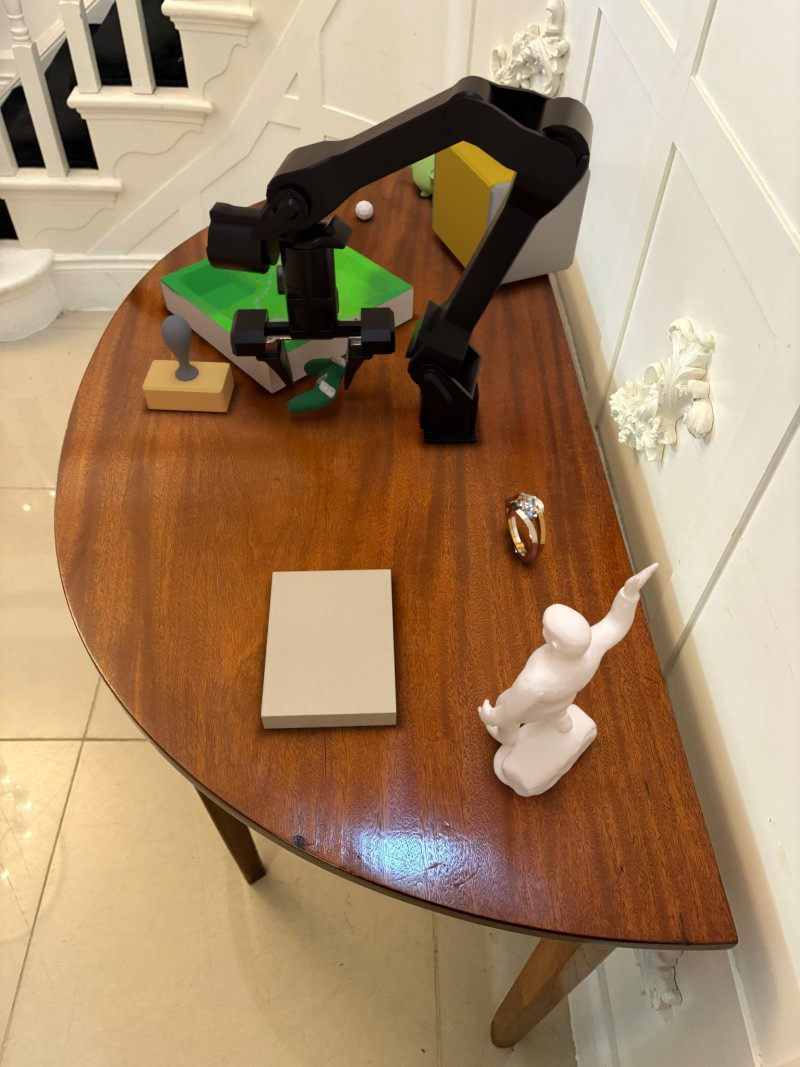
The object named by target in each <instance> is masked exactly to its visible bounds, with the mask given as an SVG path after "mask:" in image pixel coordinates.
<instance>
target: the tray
mask: <svg viewBox="0 0 800 1067" xmlns="http://www.w3.org/2000/svg"><path fill="white" fill-rule="evenodd" d="M334 259H335V275H336V286H337V289H338V296H339V313H338V320H339V319H350V318H351V317H353V316H361V308H375V307H389V308H390V309H391V310H392V311H393V312H394V320H395V328H396V327H398V326H400V325H402V324H403V323H406V322H407V321H409V320H411V319H412V318H413V308H414V286H412V284H409V283H408V282H406V281H405V280H403V279H402V278H400V277H398V276H396V275H395V274H393V273H392V272H390V271H389V270H387V269H385V268H383V267H382V266H380V265H378V264H377V263H375V262H373V260H371V259H369V258H368V257H366V256H364V255H363V254H361V253H359V252H358V251H356V250H354V249H353V248H352V247H349V246H348V245H346V247H345V248H344V249H342V250H341V249H334ZM277 265H282V264H281V256H279V260H278V262H277V264H276V265H275V266H270V268H269V270H268V272H267V273H266V274H256V273H248V272H240V271H233V270H225V269H217V268H213V267H212V266H211V265H210V263H209V261H208V257H206V258H203V259H201V260H198V261H196V262H195V263H192V264H190V265H188V266H187V265H186V266H185V267H183V268H180V269H177V270H176V271H173V272H170V273H168V274H166V275H164V276H161V277H160V278H159V281H160V286H161V290H162V293H163V297H164V301H165V306H166V309H167V310H168V311H169V312H170V313H171V314H172V315H178V316H181V317H183V318H184V319H185V320H186V321H187V322H188V323H189V325H190V327H191V330H193V331H194V332H195V333H196V334H197V335H199V337H201V338H202V339H204V340H205V341H206V342H207V343H209V344H210V345H211V346H212V347H214V348H215V349H216V350H217V351H219V352H220V353H221V354H222V355H224V356H225V357H226V358H227V359H228V360H230V361H231V362H232V363H234V365H236V366H237V367H238V368H240V369H241V370H242V371H243V372H244V373H246V374H247V375H248V376H250V377H251V378H252V379H253V380H255V381H256V382H257V383H258V384H259V385H260V386H262V387H263V388H264V389H266V390H267V391H268V392H269V393H270V394H274V393H276V392H278V391H279V390H281V389H283V388H285V387H287V386H286V385H285V384H284V382H283V381H282V380H281V379H280V377H279V376H278V375H277V374H276V373H275V372H274V371H273V370H272V369H271V368H270V367H269V366H268V365H267V364H266V363H265V362H263V361H257V360H256V358H255V356H249V357H237V356H235V355H234V354H233V353H232V348H231V342H230V333H231V327H232V321H233V315H234V313H235V312H236V311H237V310H238V309H267V310H268V313H269V322H281V321H288V315H287V307H286V298H285V295H279V294H278V291H277V273H276V267H277ZM347 340H348V338H333V339H332V340H288V341H285V346H286V350H287V354H288V358H289V362H290V367H291V371H292V375H293V383H295V382H296V381H298V380H300V379H302V378H304V377H305V376H308V374H306V372H305V371H304V365H305V364H306V363H307V362H308V361H310V360H312V359H318V358H331V357H332V356H333V354H334V353H335V354H337V355H339V356H340V357H341V358H342V356H344V355H346V351H347Z"/></svg>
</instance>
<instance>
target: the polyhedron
mask: <svg viewBox="0 0 800 1067" xmlns="http://www.w3.org/2000/svg"><path fill="white" fill-rule="evenodd" d="M354 211H355V215H356V216H357V217H358V218H359V219H361V220H363V221H366V220H369V219H371V217H372V216H373V213H374V208H373V204H371V203H370V202H369V201H367V200H361V201H359V202H357V204H356V206H355V209H354Z"/></svg>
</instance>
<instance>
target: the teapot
mask: <svg viewBox="0 0 800 1067" xmlns="http://www.w3.org/2000/svg"><path fill="white" fill-rule="evenodd" d="M434 159H435V154H434V155H431V156H429V157H427V158H425V159H423V160H421V161H418V162H416V163H414V164H412V165H410V166H408V168H409V169H410V170H411V172H412V180H413V182H414V183H415V185H416V186H417V187H418V188H419V189H420V190H421V192H420V196H421V197H425V198H426V197H430V196H431V195H433V181H434Z"/></svg>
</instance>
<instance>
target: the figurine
mask: <svg viewBox="0 0 800 1067" xmlns="http://www.w3.org/2000/svg"><path fill="white" fill-rule="evenodd" d="M658 568H659V562H654V563H652V564H651V565H649V566H647V567H645V568H644V569H642V570H641V571H639V572H638V573H636V574H634V575H633V576H631V577H629V578H628V579H627V580H626V581H625V583H624V586H622V587H621V588H620V589H619V590H618V592H617V594H616V595H615V598H614V600H613V602H612V604H611V606H610V610H609V612H608V613H607V614H606V615H605V616H604V617H603V619H601V620H600V621H598V622H597V623H595V624H593V625H592V626H590V625H589V622H588V620H586V618H585V617H584V616H583V615H582V614H581V613H580V612H578V611H576V610H575V609H573V608H571V607H570V606H567V605H566V604H565V605H564V604H562V603H554V604H551V605H550V606H548V607H547V608H546V609H545V611H544V612H543V616H542V620H541V622H542V625H543V626H542V636H543V639H544V640H545V642H546V643H545V644H543V645H541V646H540V647H538V648H536V649H535V650H534V651H533V652H532V653H531V654H530V656H529V657H528V659H527V661H526V663H525V665H524V669H522V670H521V672H520V673H519V674H518V676H517V678H516V679H515V680H514V682H513V683H512V685H511V686H510V687H509V688H507V689H505V690H504V691H503V692H502V693H500V695H498V697H497V699H496V701H495V705H494V707H492V705H491V703H490V699H488V698H487V699H485V700H484V701H483V704H482V706H478V708H477V712H478V716H479V717H480V720H481V722H483V724H484V725H485V728H486V730H487V732H488V734H490V736H491V737H492V738H493V739H495V740H496V741H497V742H499V743H500V744H501V745H500V747H499V748H498V749H497V750H496V753H495V754H494V757H493V770H494V774H495V775H496V777H497V778H498V779H499V781H500V782H502V784H504V785H506V786H508V787H510V788H511V789H512V790H514V792H515V793H516V794H517V795H518V796H521V797H523V798H524V797H525V798H529V797H532V796H538V795H542V794H543V793H545V792H546V791H548V790H549V789H550V788H552V787H554V785H555V784H557V782H559V780H560V779H561V778H562V776H564V775H565V774H566V773H567V772H569V771H570V770H571V768H572V767H573V765H575V763H576V762H577V761H578V759H579V758H580V756H581V755H582V754H583V753H584V752H585V751H586V750H587V749H588V747H590V745H591V744H592V742H593V741H595V739H596V737H597V735H598V728H597V724H596V723H595V721H594V720H593V719H592V718H591V717H590V716H589V715H588V714H587V713H586V712H585V711H584V710H582V709H581V708H580V707H579V706H578V705H576V704H575V703H573V702H574V700H575V699H576V697H577V694H578V693H579V692H580V691H581V690H583V689H584V688H585V687H586V686H587V685H588V683H589V682H590V681H591V680H592V679H593V677H594V676H595V674H596V672H597V670H598V669H599V667H600V664H601V661H602V659H603V657H604V655H605V654H606V652H608V650H610V649H612V648H613V647H615V646H616V645H617V644H618V643H619V642H621V641H622V640H623V639H624V638H625V636H626V635H627V634H628V632H629V631H630V630H631V627H632V624H634V620H635V615H636V610H637V606H638V603H639V601H640V597H641V594H640V592H639V591H640V590H641V589H642V588H643V586H644V585H645V584H646V582H647V581H648V580H649V579H650V578H651V577H652V575H653V573H654V572H655V571H656V570H657V569H658ZM521 724H523V725H522V726H521Z"/></svg>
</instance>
